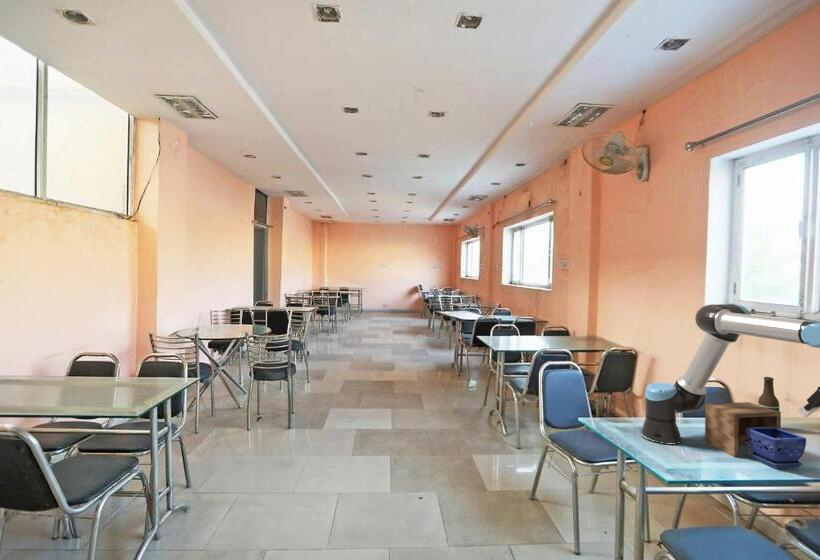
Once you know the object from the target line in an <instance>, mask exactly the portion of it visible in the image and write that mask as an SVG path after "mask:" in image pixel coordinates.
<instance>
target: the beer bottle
mask: <svg viewBox="0 0 820 560" xmlns="http://www.w3.org/2000/svg"><path fill="white" fill-rule="evenodd" d="M774 389H775V388H774V378H773V377H772V376H771V377H770V376H764V377H763V389H762V390H763V392H762V394H761V395H760V396H759V398H758V401H757V405H759V406H763V407H766V408H769V409H772V410H775V411H779V412H780V402H779V400H778V398H777V396H776V395H775V390H774Z"/></svg>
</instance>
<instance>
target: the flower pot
mask: <svg viewBox="0 0 820 560" xmlns="http://www.w3.org/2000/svg"><path fill="white" fill-rule="evenodd" d="M746 435H747V440H748V443H747V444H748V445H749V447H750V449H751V451H752V452H751V451H750V452H748V454H749V456H750V457H751V458H753V459H754V460H756V461H758V462H761V463H762V464H764V465H766V466H769V467H771V468H774V469H792V468H793V469H797V468H800V467H802V466H803V462H802V461H800V460H801V458H802V457H803V455H804V453H805V451H806V445H807V438H806V437H805V436H802V435H798V434H797V433H793V432H790V431H788V430H784V429H782V428H781V429H778V428H775V427H752V428H746ZM777 436H778V437H779V439H777ZM759 440H760V442H759Z"/></svg>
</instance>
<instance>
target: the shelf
mask: <svg viewBox="0 0 820 560" xmlns="http://www.w3.org/2000/svg"><path fill="white" fill-rule="evenodd" d="M781 416H782V413H781V411H780V410H779V411H775V410H772V409H769V408H766V407H763V406H759V405H758V404H757V403H753V402H750V401H744V402H721V403H719V402H718V403H717V402H716V403H715V402H714V403H706V404H705V406H704V419H705V420H704V421H705V422H704V426H705V427H704V442H705V443H704V444H705V445H706V446H710V447H711V446H712V448H714V449H716V450H718V451H720V452H722V451H723V452H722V453H724V452H725V453H724V454H726V453H727V455H729V456H731V457H733V458H739V448H740V447H739V446H747V444H749V443H748V440H747V435H746V428H752V427H775V428H778V429H782V423H781V422H782V419H781ZM777 439H779V437H778V436H777ZM759 442H760V440H759Z"/></svg>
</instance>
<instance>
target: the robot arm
mask: <svg viewBox="0 0 820 560" xmlns="http://www.w3.org/2000/svg"><path fill="white" fill-rule="evenodd" d="M694 320H695V324H696V326H697V327H698V328H699V329H700V330H701V331H703V332H705V336H704V337H703V338H702V341H701V342H700V345H699V347H698V348H697V350H696V352H695V353H694V356H693V358H692V360H691V361H690V363H689V365H688V366H687V369H686V370H685V373H684V374H683V376H679V377H678V378H676V381H675V382H674V384H673V383H666V382H655V383H654V382H653V383H650V384H648V385H647V386H646V387H645V393H644V396H645V398H644V399H645V404H644V405H645V417H644V418H645V420H644V422H643V425H642V427H641V429H640V434H641V433H642V434H643V435H644V436H646V437H647V438H650V439H652V440H655V441H658V442H663V443H678V442H680V443H681V442H682V437H681V436H682V435H681V433H680V430H679V427H678V424H677V414H682V413H683V414H684V413H694V412H698V411H700V410H702V409H704V408H705V404H708V403H707V402H708V398H707V389H706V385H707V383H708V381H709V380H710V378H711V377H712V375H713V373H714V371H715V369H716V368H717V366H718V364H719V363H720V361H721V359H722V357H723V356H724V353H725V352H726V350H727V348H728V347H729V345H730V344H732V343H735V342H737V341H738V340H739V337H740V336H741V335H742V336H748V337H749V336H751V337H755V338H756V337H757V338H762V339H770V340H775V341H783V342H790V343H796V344H803V345H808V346H809V347H812V348H816V349H817V348H818V349H820V321H810V320H800V319H792V318H783V317H774V316H763V315H757V314H756V315H755V314H752V313H751V312H750V310H749V309H748V308H747V307H745V306H743V305H741V304H736V303H735V304H734V303H727V304H707V305H704V306H702V307H700V308H699V309H698V310H697V311H696V313H695V319H694ZM806 402H807V403H806V404H805V405H803V406H802V407H800V408H798V409H797V412H798V413H800V415H801V416H802V417H803V418H807V417H809V416H811V415H813V413H815V412H817V411H819V410H820V386H818V387H817V390H816V391H814V392H813V393H812V394H811V395H810V396H809V397H808V398H806Z"/></svg>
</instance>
